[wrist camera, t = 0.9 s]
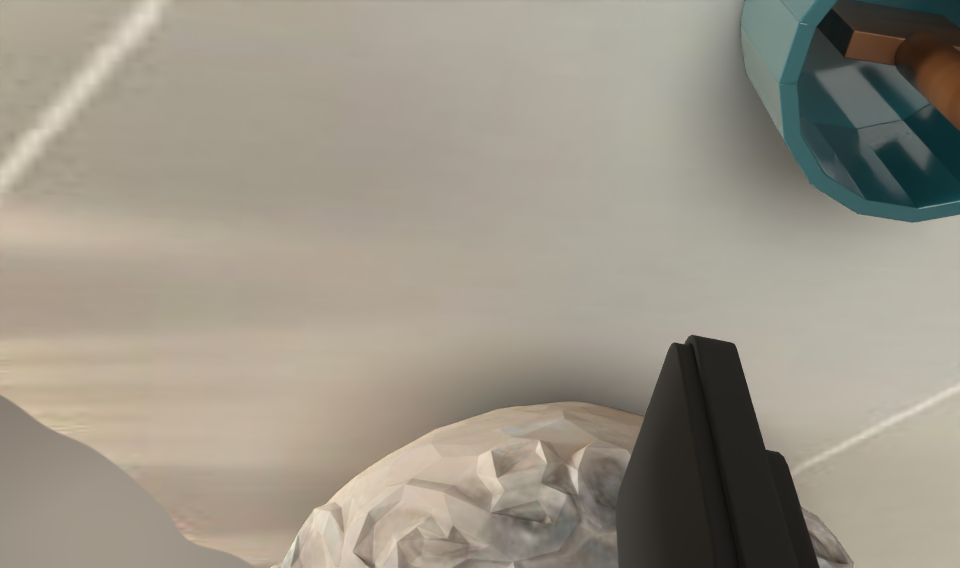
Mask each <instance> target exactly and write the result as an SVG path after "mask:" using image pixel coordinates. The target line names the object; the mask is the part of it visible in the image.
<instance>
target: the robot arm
mask: <svg viewBox="0 0 960 568" xmlns="http://www.w3.org/2000/svg"><path fill="white" fill-rule="evenodd" d="M616 531H617V548H618V565H619V568H820V567H819V564H818V561H817V557H816V554H815V551H814V548H813V545H812V541H811V538H810V535H809V532H808V529H807V525H806V522H805V519H804V516H803V512H802V509H801V506H800V503H799V500H798V496H797V493H796V490H795V487H794V484H793V480H792V477H791V474H790V471H789V467H788V465H787V463H786V460H785V458H784V456H782V455H781V454H780V453H779V452H774V451H769V450H765V446H764V443H763V439H762V436H761V432H760V429H759V425H758V422H757V418H756V415H755V411H754V408H753V404H752V401H751V397H750V394H749V390H748V387H747V383H746V380H745V376H744V372H743V369H742V365H741V362H740V358H739V355H738V351H737V348H736V346H735V344H733V343H731V342H726V341H721V340H716V339H710V338H705V337H700V336H695V335H691V336H689V337H688V339H687V340H686V342H685V344H679V343H672V345H671V346H670V348H669V350H668V353H667V355H666V358H665V361H664V364H663V367H662V370H661V372H660V375H659V378H658V381H657V384H656V386H655V389H654V392H653V395H652V398H651V401H650V403H649V406H648V409H647V412H646V415H645V418H644V420H643V423H642V426H641V429H640V432H639V435H638V437H637V440H636V443H635V446H634V449H633V451H632V454H631V457H630V460H629V463H628V466H627V468H626V471H625V474H624V477H623V480H622V483H621V485H620V489H619V492H618V497H617V503H616Z"/></svg>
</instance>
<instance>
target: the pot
mask: <svg viewBox="0 0 960 568" xmlns="http://www.w3.org/2000/svg"><path fill="white" fill-rule="evenodd" d="M837 1H838V0H745V2H744V6H743V11H742V19H741V24H740V26H741V47H742V52H743V58H744V63H745V71H746V74H747V76H748V77H749V79H750V81H751V83H752V85H753V86H754V88H755V90H756V92H757V93H758V95H759V97H760V99H761V101H762V102H763V104H764V106H765V108H766V110H767V111H768V113H769V115H770V117H771V119H772V120H773V122H774V124H775V126H776V128H777V129H778V131H779V133H780V135H781V137H782V138H783V140H784V142H785V144H786V145H787V147H788V149H789V150H790V152H791V153H792V155H793V157H794V158H795V160H796V161H797V163H798V165H799V166H800V168H801V170H802V171H803V173H804V174H805V176H806V178H807V179H808V181H809V182H810V184H811V185H812V186H813V187H815V188H817V189H818V190H820V191H821V192H823V193H825V194H826V195H828V196H829V197H831V198H833V199H834V200H836V201H837V202H839V203H841V204H842V205H844V206H846V207H847V208H849V209H850V210H852V211H854V212H856V213H857V214H862V215H868V216H875V217H881V218H887V219H894V220H900V221H906V222H912V223H913V222H920V221H926V220H932V219H937V218H943V217H948V216H954V215H960V131H959V130H958V129H957V128H955V127H954V126H953V125H952V124H951V123H950V122H949V121H948V120H947V119H946V118H945V117H944V116H943V115H942V114H941V113H940V112H939V111H938V110H937V109H936V108H935V107H934V106H933V105H932V104H931V103H930V102H929V101H928V100H927V99H926V98H925V97H923V96H922V95H921V94H920V93H919V92H918V91H917V90H916V89H915V88H914V87H913V86H912V85H911V84H910V83H909V82H908V81H907V80H906V79H905V78H904V77H903V76H902V75H901V74H900V73H899V72H898V70H897V68H896V66H893V65H887V64H880V63H874V62H868V61H861V60H855V59H849V58H844V57H843V56H842V54H841V53H840V52H839V51H838V50H837V49H836V48H835V47H834V46H833V44H832V43H831V42H830V41H829V40H828V39H827V38H826V37H825V36H824V35H823V33H822V32H821V31H820V30H819V29H818V28H817V26H818V24H819V23H820V22H821V21H822V19H823V18H824V17H825V16H826V14H827V13H828V12H829V11H830V9H831V8H832V7H833V6H834V4H835V3H836V2H837ZM850 1H857V2H863V3H869V4H875V5H882V6H888V7H894V8H901V9H907V10H913V11H920V12H926V13H932V14H939V15H943V16H944V17H946V18H947V19H949V20H950V21H952V22H953V23H954V24H956V25H957V26H959V27H960V0H850Z"/></svg>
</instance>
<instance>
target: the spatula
mask: <svg viewBox="0 0 960 568" xmlns="http://www.w3.org/2000/svg"><path fill="white" fill-rule="evenodd" d="M817 28H818V29H819V30H820V31H821V32H822V33H823V35H824V36H825V37H826V38H827V39H828V40H829V41H830V42H831V43H832V44H833V46H834V47H835V48H836V49H837V50H838V51H839V52H840V53H841V54H842V56H843V57H844V58H849V59H855V60H861V61H868V62H874V63H880V64H887V65H893V66H896V68H897V70H898V72H899V73H900V74H901V75H902V76H903V77H904V78H905V79H906V80H907V81H908V82H909V83H910V84H911V85H912V86H913V87H914V88H915V89H916V90H917V91H918V92H919V93H920V94H921V95H922V96H923V97H925V98H926V99H927V100H928V101H929V102H930V103H931V104H932V105H933V106H934V107H935V108H936V109H937V110H938V111H939V112H940V113H941V114H942V115H943V116H944V117H945V118H946V119H947V120H948V121H949V122H950V123H951V124H952V125H953V126H954V127H955V128H957V129H958V130H959V131H960V27H959V26H957V25H956V24H954V23H953V22H952V21H950V20H949V19H947V18H946V17H944V16H943V15H939V14H932V13H926V12H920V11H913V10H907V9H901V8H894V7H888V6H882V5H875V4H869V3H863V2H857V1H850V0H838V1H837V2H836V3H835V4H834V6H833V7H832V8H831V9H830V11H829V12H828V13H827V14H826V16H825V17H824V18H823V19H822V21H821V22H820V23H819V24H818V26H817Z"/></svg>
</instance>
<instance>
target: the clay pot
mask: <svg viewBox="0 0 960 568" xmlns="http://www.w3.org/2000/svg"><path fill="white" fill-rule="evenodd" d="M644 418H645V417H643V416H640V415H637V414H633V413H630V412H626V411H622V410H618V409H614V408H611V407H607V406H603V405H599V404H595V403H585V402H575V401H567V402H555V403H546V404H536V405H527V406H514V407H508V408H502V409H496V410H493V411H490V412H487V413H484V414H481V415H478V416H475V417H472V418H469V419H466V420H463V421H460V422H457V423H454V424H450V425H447V426H444V427H440V428H437V429H435V430H433V431H431V432H429V433H428V434H426V435H424V436H422V437H420V438H418V439H417V440H415V441H413V442H411V443H409V444H407V445H406V446H404V447H402V448H400V449H398V450H397V451H395V452H393V453H391V454H389V455H388V456H386V457H384V458H383V459H381V460H380V461H378V462H377V463H375V464H373V465H372V466H370V467H369V468H367V469H366V470H364V471H363V472H362V473H360V474H359V475H357V476H356V477H354V478H353V479H352V480H351V481H349V482H348V483H347V484H346V485H345V486H344V487H343V488H341V489H340V490H339V491H338V492H337V493H336V494H335V495H334V496H333V497H332V498H331V499H330V500H329V501H328V502H327V503H326V505H323V506H320V507H318V508H315V509H314V510H313V512H312V513H311V514H310V516H309V517H308V519H307V520H306V522H305V523H304V525H303V526H302V528H301V529H300V531H299V533H298V535H297V536H296V538H295V540H294V542H293V544H292V546H291V548H290V549H289V551H288V553H287V555H286V557H285V559H284V561H283V562H281V563H278V564H275V565H273V566H272V567H271V568H619V565H618V548H617V531H616V503H617V497H618V492H619V489H620V485H621V483H622V480H623V477H624V474H625V471H626V468H627V466H628V463H629V460H630V457H631V454H632V451H633V449H634V446H635V443H636V440H637V437H638V435H639V432H640V429H641V426H642V423H643V420H644ZM801 509H802V512H803V516H804V519H805V522H806V525H807V529H808V532H809V535H810V538H811V541H812V545H813V548H814V551H815V554H816V557H817V561H818V564H819V567H820V568H853V563H854V562H853V561H852V560H851V558H850V557H849V555H848V554H847V552H846V551H845V550H844V548H843V547H842V545H841V544H840V543H839V541H838V540H837V538H836V537H835V536H834V535H833V534H832V533H831V532H830V530H829V529H828V528H827V527H826V526H825V525H824V524H823V522H822V521H821V520H820V519H819V518H818V517H817V516H816V515H814V514H812V513H810V512H809V511H807V510H805V509H803V508H801Z"/></svg>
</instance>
